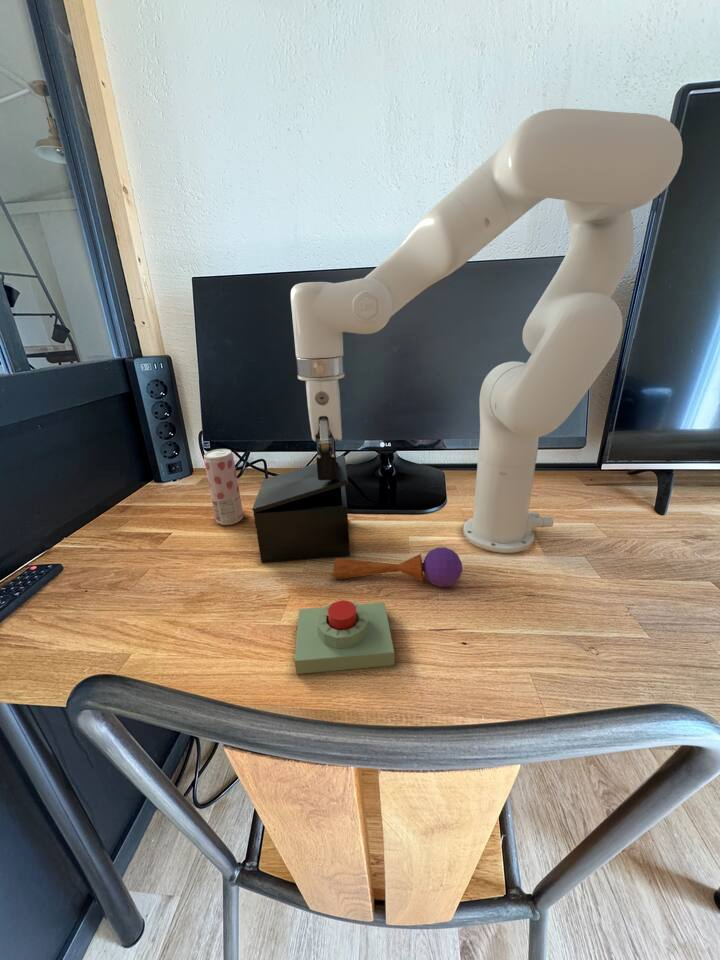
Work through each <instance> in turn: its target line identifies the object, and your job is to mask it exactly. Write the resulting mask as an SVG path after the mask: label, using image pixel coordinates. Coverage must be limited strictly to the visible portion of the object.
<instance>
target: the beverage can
mask: <svg viewBox="0 0 720 960" xmlns="http://www.w3.org/2000/svg"><path fill="white" fill-rule="evenodd" d="M203 462H204V467H205V473H206V477H207V482H208V488H209V492H210V497H211V498H210V499H211V502H212V507H213V513H214V518H215V521H216V523H217V524H219V525H222V526H230V525H234V524H237V523H239V522H240V521H242V520H243V518H244V510H243V504H242V499H241V494H240V487H239V481H238V476H237V469H236V465H235V458H234V455H233V452H232V450H231V449H228V448H216V449H212V450H209V451H206V452H205V453H204V455H203Z"/></svg>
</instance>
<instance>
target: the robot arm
mask: <svg viewBox="0 0 720 960" xmlns="http://www.w3.org/2000/svg"><path fill="white" fill-rule="evenodd" d="M683 148H684V146H683V141H682V136H681V134H680V132H679V129H678V128H677V127H676V126H675V124H673V122H670V120H668V119H667V118H665V117H662V116H659V115H655V114H651V113H650V114H648V113H638V112H624V111H611V110H596V109H580V108H553V109H552V108H551V109H546V110H545V109H544V110H541V111H538V112H536V113H534V114H532V115H530V116H529V117H527V118H526V119H524V120H523V121H522V122H521V123H520V124H519V126H517V128H516V129H515V130H514V132H512V134H511V135H510V136H509V137H508V139H507V140H506V141H505V142H504V143H503V144H502V145H501V146H500V147H499V148H498V149H497V150H495V152H493V154H492V155H490V156H489V157H488V158H487V159H485V161H484V162H483V163H482V164H481V165H479V166H477V168H476V169H475V170H474V171H473V172H472V173H471V174H470V175H468V176H467V177H466V178H465V179H464V180H463V181H462V182H460V183H459V184H458V185H457V186H456V187H455V188H453V190H452V191H450V192H449V193H447V195H446V196H444V197H443V198H442V199H441V200H439V202H437V203H436V204H435V205H434V206H433V207H431V208H430V209H429V210H428V211H427V212H426V213H425V215H423V217H422V218H420V220H419V221H418V222H417V224H416V225H415V226H414V227H413V229H412V230H411V232H410V233H409V234H408V235H407V237H406V238H405V239H404V240H403V241H402V242H401V244H399V246H398V247H397V248H396V249H394V251H392V252H391V253H390V254H389V255H388V256H387V257H386V258H385V259H384V260H383V261H382V262H380V264H379V265H377V266H376V267H375V268H374V269H372V271H371V272H369V273H368V274H367V275H366V276H365V277H363V278H356V279H352V280H347V281H346V280H345V281H341V282H329V281H307V282H300V283H296V284H295V285H293V286H292V288H291V289H290V305H291V306H290V307H291V314H292V316H291V317H292V326H293V327H292V328H293V337H294V339H293V340H294V349H295V361H296V373H297V379H298V380H299V381H305V391H306V401H307V409H308V410H307V411H308V412H307V413H308V420H309V426H310V432H311V439H312V441H314V442H315V443H316V453H317V454H316V455H317V456H315V457H316V458H315V459H316V463H317V473H318V480H335V479H337V467H336V457H337V453H336V451H337V450H336V440H338V442H340V441H341V440H342V439H343V431H342V430H343V429H342V413H341V412H342V411H341V393H340V384H339V380H340V379H343V378H344V377H345V359H344V335H343V333H349V334H350V333H351V334H358V335H372V334H375V333H377V332H379V331H381V330H382V329H384V327H386V325H387V324H388V323H389V322H390V319H391V317H393V316H394V315H395V314H396V313H398V312H399V311H400V310H401V309H402V308H404V307H405V306H406V305H407V304H408V303H409V302H411V301H412V300H413V299H415V298H416V297H417V296H418V295H420V294H421V293H422V292H423V291H425V290H427V288H429V287H430V286H432V285H433V284H435V283H437V282H439V281H441V280H442V279H445V278H446V277H448V276H450V275H451V274H453V273H454V272H455V271H457V270H458V269H459V268H461V267H462V266H464V265H465V264H466V263H467V262H468V261H470V259H472V258H473V257H474V256H475V255H477V254H478V253H479V252H480V251H481V250H483V249H484V248H485V247H486V246H487V245H489V244H490V243H491V242H492V241H494V240H495V239H496V238H497V237H498V236H500V235H501V234H502V233H504V231H506V230H507V229H508V228H510V227H511V226H512V225H513V224H514V223H516V222H517V221H518V220H519V219H521V218H522V217H523V216H524V215H525V214H527V212H529V211H531V209H533V208H534V207H535V206H536V205H539V204H540V203H541V202H543V201H544V200H545V199H554V200H561V201H563V206H564V211H565V214H566V217H567V221H568V224H569V229H570V237H569V245H568V249H567V251H566V254H565V256H564V258H563V260H562V261H561V263H560V265H559V267H558V269H557V271H556V273H555V274H554V275H553V277H552V279H551V281H550V282H549V284H548V285H547V286H546V289H545V290H544V292H543V293H542V295H541V297H540V298H539V300H538V301H537V302H536V305H535V306H534V307H533V309H532V311H531V312H530V313H529V316H528V317H527V319H526V321H525V323H524V325H523V329H522V334H521V335H522V338H521V339H522V343H523V346H524V348H525V349H526V350H527V352H528V353H529V354H530V356H529V358H528V360H527V361H526V362H523V361H516V360H515V361H514V360H513V361H507V362H503V363H501V364H498V365H497V366H495V367H494V368H492V369H491V370H490V371H489V372H488V373H487V375H486V376H485V377H484V380H483V381H482V383H481V387H480V392H479V400H478V401H479V403H478V405H479V406H478V407H479V439H478V440H479V442H478V454H477V463H476V464H477V465H476V479H475V487H474V500H473V501H474V502H473V512H472V517H470V518H468V519H467V520H466V521H465V522H464V524H463V530H462V531H463V535H464V537H465V538H466V540H467V541H468V542H469V543H471V544H472V545H474V546H476V547H477V548H480V549H482V550H486V551H488V552H494V553H500V554H513V553H519V552H522V551H525V550H527V549H529V548H530V547H531V546H532V545H533V543H534V540H535V532H534V530H535V531H536V530H537V528H550V527H551V528H552V527H553V526H554V520H553V517H552V516H540V513H539V512H538V511H535V512H530V503H531V497H532V492H533V491H532V490H533V483H534V478H535V471H536V463H537V459H538V458H537V457H538V451H539V438H540V437H544V436H546V435H549V434H550V433H552V432H554V431H555V430H556V429H558V428H559V427H560V426H561V425H562V424H563V423H564V422H565V421H566V420H567V419H568V418H569V417H570V415H571V414H572V413H573V412H574V410H575V409H576V408H577V406H578V404H580V402H581V401H582V399H583V398H584V397H585V395H586V394H587V392H588V391H589V390H590V389H591V387H592V385H593V384H594V383H595V381H596V380H597V378H598V377H599V376H600V374H601V373H602V371H603V370H604V369H605V367H606V366H607V364H608V363H609V361H610V360H611V358H612V357H613V355H614V354H615V352H616V350H617V347H618V345H619V343H620V340H621V338H622V333H623V325H624V324H623V323H624V322H623V316H622V315H623V314H622V311H621V309H620V308H619V307H620V306H619V305H618V304H617V303H616V301H614V300H613V299H612V296H613V294H614V293H615V291H616V289H617V287H618V286H619V284H620V283H621V282H622V279H623V278H624V276H625V274H626V272H627V270H628V269H629V266H630V263H631V261H632V258H633V255H634V248H635V231H634V230H635V229H634V221H633V220H634V219H633V214H632V210H635V209H637V208H640V207H642V206H644V205H647V204H649V203H650V202H651V201H653V200H654V199H656V198H657V197H658V196H659V195H661V193H663V192H664V191H666V188H667V187H669V185H670V184H671V182H672V181H673V179H674V178H675V177H676V175H677V173H678V172H679V171H678V170H679V168H680V166H681V163H682V158H683V152H684V151H683Z"/></svg>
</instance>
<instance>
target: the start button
mask: <svg viewBox="0 0 720 960" xmlns="http://www.w3.org/2000/svg"><path fill="white" fill-rule="evenodd" d="M349 601H350V600H344V599H343V600H337V601H335V602H332V603H333V604H332V603H330V604H331V605H330V604H329V605H330V607H329V608H328V618H329V624H330V626H331V627H332V628H333V629H336V630H339V631H340V630H348V629H350V628H352V627H353V626H354V625H355V624H356V621H357V615H356V607H355V605H354V604H353V603H352V602H353V601H350V602H349Z"/></svg>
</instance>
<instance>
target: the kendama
mask: <svg viewBox="0 0 720 960" xmlns="http://www.w3.org/2000/svg"><path fill="white" fill-rule="evenodd" d="M395 572H400V573H401V574H402V573H403V574H404V575H407V576H409V577H412V578H413V579H415V580H418V581H420V582H423V576H425V579H426V580H427V581H428V582H429V583H431V584H432V585H434V586H437V587H438V588H445V587H449V586H453V585H455V584H456V583H457V582H458V580H459V579H460V578H461V576H462V572H463V562H462V560H461V558H460V556H459V555H458V554H457V553H456V552H455V551H454V550H453V549H451V548H448V547H444V546H443V547H435V548H433V549H431V550H430V551H429V552H428V553H427V554H426V555H425V556H424V559H422V553H419V554H416V555H415V556H414V555H413V556H412V557H411V558H408V559H405V560H404V561H402V562H400V563H390V562H382V561H381V562H380V561H372V560H371V561H369V560H361V559H359V560H358V559H347V558H340V557H334V561H333V577H334V579H335V580H339V579H347V578H348V579H349V578H355V577H364V576H371V575H379V574H387V573H395Z"/></svg>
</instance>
